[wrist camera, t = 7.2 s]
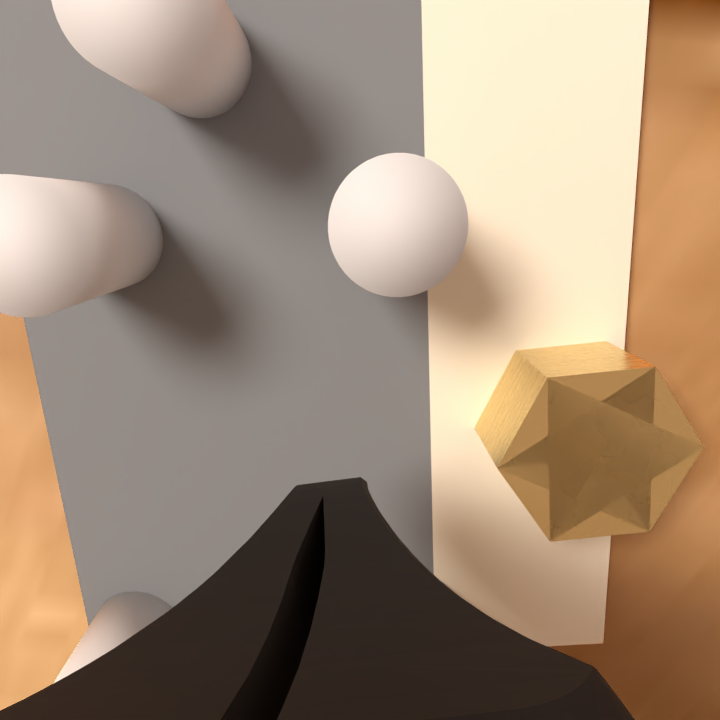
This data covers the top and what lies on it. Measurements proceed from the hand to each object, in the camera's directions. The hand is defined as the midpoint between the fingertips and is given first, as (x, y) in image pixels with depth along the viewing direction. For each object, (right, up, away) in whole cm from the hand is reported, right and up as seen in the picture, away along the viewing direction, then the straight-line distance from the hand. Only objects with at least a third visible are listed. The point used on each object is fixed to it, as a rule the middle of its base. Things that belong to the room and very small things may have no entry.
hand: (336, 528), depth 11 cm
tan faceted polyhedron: (+6, +2, +4) cm, 7 cm away
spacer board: (0, +3, +4) cm, 5 cm away
